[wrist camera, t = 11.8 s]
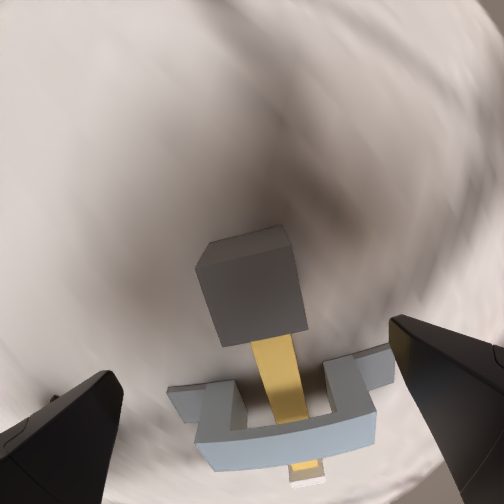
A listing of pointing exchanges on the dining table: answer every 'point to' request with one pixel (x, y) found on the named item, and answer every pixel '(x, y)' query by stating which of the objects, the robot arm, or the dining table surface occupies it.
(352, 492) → the dining table surface
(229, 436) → the blue-grey bracket
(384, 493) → the dining table surface
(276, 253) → the yellow handled hammer
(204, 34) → the dining table surface
